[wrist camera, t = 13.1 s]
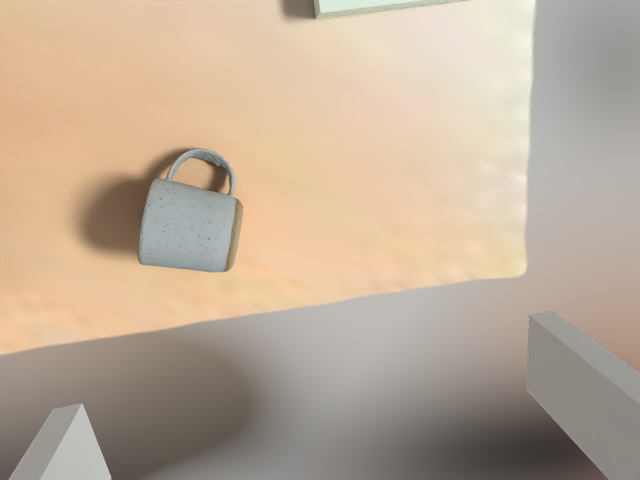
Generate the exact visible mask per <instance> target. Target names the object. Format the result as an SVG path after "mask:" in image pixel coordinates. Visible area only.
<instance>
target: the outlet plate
mask: <svg viewBox="0 0 640 480" xmlns="http://www.w3.org/2000/svg"><path fill="white" fill-rule="evenodd" d="M313 1H314V9H315V18H316V19H318V18H326V17H334V16H342V15H350V14H359V13H367V12H375V11H383V10H391V9H399V8H407V7H416V6H424V5H432V4H440V3H448V2H456V1H464V0H313Z"/></svg>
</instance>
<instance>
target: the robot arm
mask: <svg viewBox="0 0 640 480" xmlns="http://www.w3.org/2000/svg"><path fill="white" fill-rule="evenodd" d="M527 359H528V360H527V383H526V390H527V391H528V392H529V393H530V394H531V395H532V396H533V397H534V398H535V400H536V401H537V402H538V403H539V404H540V405H541V406H542V407H543V408H544V409H545V410H546V412H547V413H548V414H549V415H550V416H551V417H552V418H553V419H554V420H555V421H556V422H557V423H558V424H559V426H560V427H561V428H562V429H563V430H564V431H565V432H566V433H567V434H568V435H569V436H570V437H571V439H572V440H573V441H574V442H575V443H576V444H577V445H578V446H579V447H580V448H581V449H582V451H583V452H584V453H585V454H586V455H587V456H588V457H589V458H590V459H591V460H592V461H593V462H594V464H595V465H596V466H597V467H598V468H599V469H600V470H601V471H602V472H603V474H604V475H605V476H606V477H607V478H608V479H609V480H640V374H639V373H638V372H636V371H635V370H633V369H632V368H631V367H629V366H628V365H627V364H625V363H624V362H623V361H621V360H620V359H619V358H617V357H616V356H614V355H613V354H612V353H610V352H609V351H607V350H606V349H605V348H603V347H602V346H600V345H599V344H598V343H596V342H595V341H594V340H592V339H591V338H590V337H588V336H587V335H586V334H584V333H583V332H581V331H580V330H579V329H577V328H576V327H574V326H573V325H572V324H570V323H569V322H568V321H566V320H565V319H564V318H562V317H561V316H559V315H558V314H557V313H555V312H554V311H548V312H543V313H538V314H533V315H529V333H528V358H527ZM9 480H111V476H110V474H109V471H108V468H107V466H106V463H105V461H104V458H103V456H102V453H101V450H100V448H99V445H98V443H97V440H96V437H95V435H94V432H93V430H92V427H91V425H90V422H89V419H88V417H87V414H86V412H85V409H84V407H83V404H82V403H81V404H76V405H72V406H66V407H61V408H56V409H53V410H52V412H51V414H50V415H49V417H48V418H47V420H46V421H45V423H44V425H43V426H42V428H41V429H40V431H39V432H38V434H37V436H36V437H35V439H34V440H33V442H32V443H31V445H30V447H29V448H28V450H27V451H26V453H25V455H24V456H23V458H22V459H21V461H20V462H19V464H18V466H17V467H16V469H15V470H14V472H13V473H12V475H11V477H10V478H9Z"/></svg>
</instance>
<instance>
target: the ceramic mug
mask: <svg viewBox="0 0 640 480" xmlns="http://www.w3.org/2000/svg"><path fill="white" fill-rule="evenodd" d="M195 157H197V158H200V159H204V160H207V161H210V162H212V163H214V164H215V165H216V166H222V167H223V168H225V170H226V172H227V174H228V176H229V182H230V190H229V193H228V194H227V195H226V194H223V193H218V192H214V191H209V190H204V189H200V188H196V187H193V186H189V185H185V184H181V183H177V182H173V181H172V179H173V176H174V174H175V172H176V170H177V169H178V167H179V166H180V165H181V164H182V163H183V162H184V161H185V160H187V159H189V158H195ZM234 187H235V179H234V174H233V170H232V168H231V166H230V165H229V163H228V162H227V161H226V160H225V159H224V158H223V157H222V156H220V155H219V154H217V153H215V152H213V151H209V150H206V149H193V150H189V151H187V152H185V153H184V154H182V155H181V156H179V157H178V158H177V159H176V160H175V162H174V163H173V164H172V166H171V168H170V170H169V172H168V174H167V177H166V179H159V178H157V179H154V180H153V182H152V184H151V185H150V188H149V191H148V194H147V197H146V201H145V206H144V210H143V214H142V220H141V226H140V232H139V243H138V260H139V262H140V263H141V264H143V265H152V266H162V267H169V268H178V269H188V270H198V271H205V272H225V271H228V270H230V269H231V268H232V266H233V263H234V260H235V255H236V251H237V247H238V241H239V234H240V228H241V222H242V213H243V206H242V204H241V202H240V201H239V200H238V199H236V198H234V196H233V193H234Z"/></svg>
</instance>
